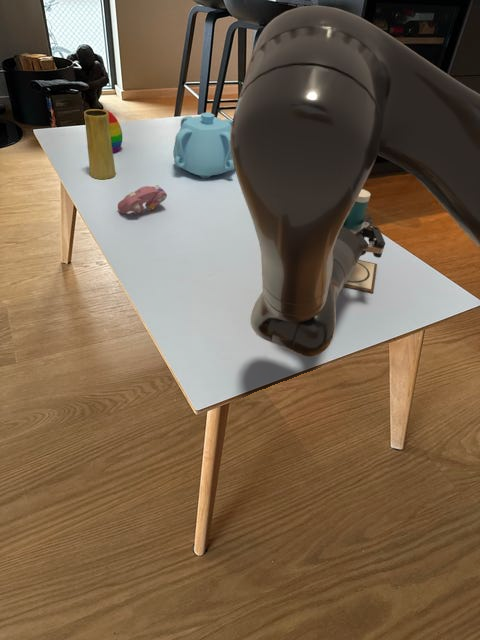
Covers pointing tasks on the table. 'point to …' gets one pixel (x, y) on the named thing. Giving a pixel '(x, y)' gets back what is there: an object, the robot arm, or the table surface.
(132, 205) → the video game controller
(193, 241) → the table surface
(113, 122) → the decorative egg
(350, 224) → the cylinder
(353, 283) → the board
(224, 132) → the decorative pot
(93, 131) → the vase
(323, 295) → the robot arm
